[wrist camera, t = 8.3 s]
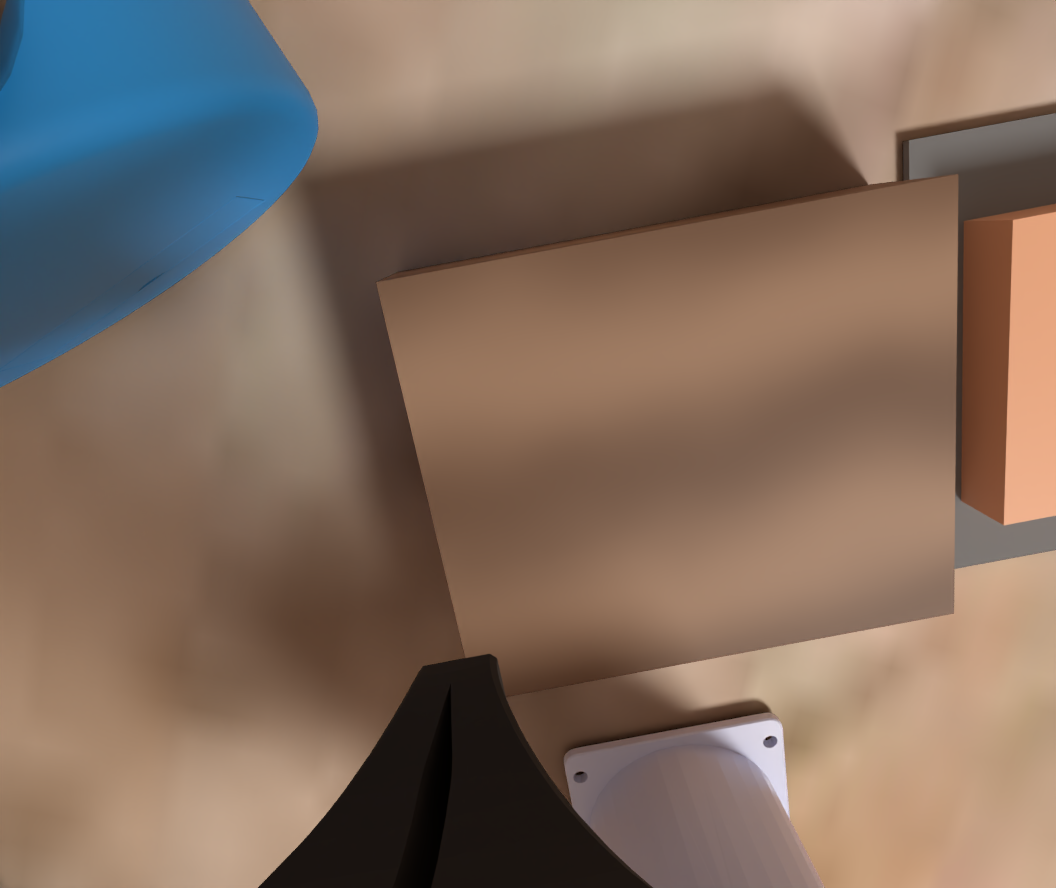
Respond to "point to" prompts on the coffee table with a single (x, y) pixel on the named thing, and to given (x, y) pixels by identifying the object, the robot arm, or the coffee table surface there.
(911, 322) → the tan flat block
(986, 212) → the mat
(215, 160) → the alarm clock
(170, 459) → the coffee table surface
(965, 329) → the peach rectangular block
